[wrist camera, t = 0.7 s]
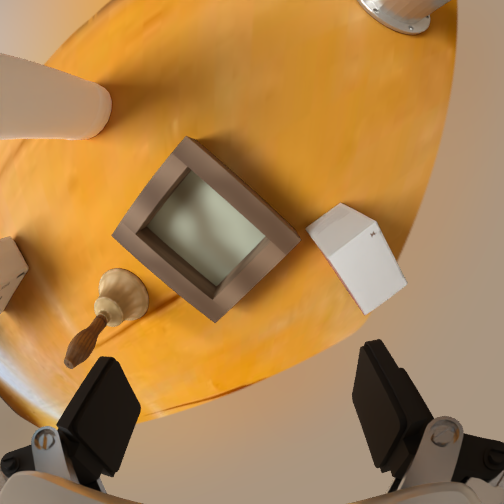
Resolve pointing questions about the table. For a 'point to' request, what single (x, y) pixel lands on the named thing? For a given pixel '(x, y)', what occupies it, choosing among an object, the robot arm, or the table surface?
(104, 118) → the bottle
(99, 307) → the hand bell
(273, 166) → the table surface
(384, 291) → the small box
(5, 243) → the stereo radio cassette player
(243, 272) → the well block
